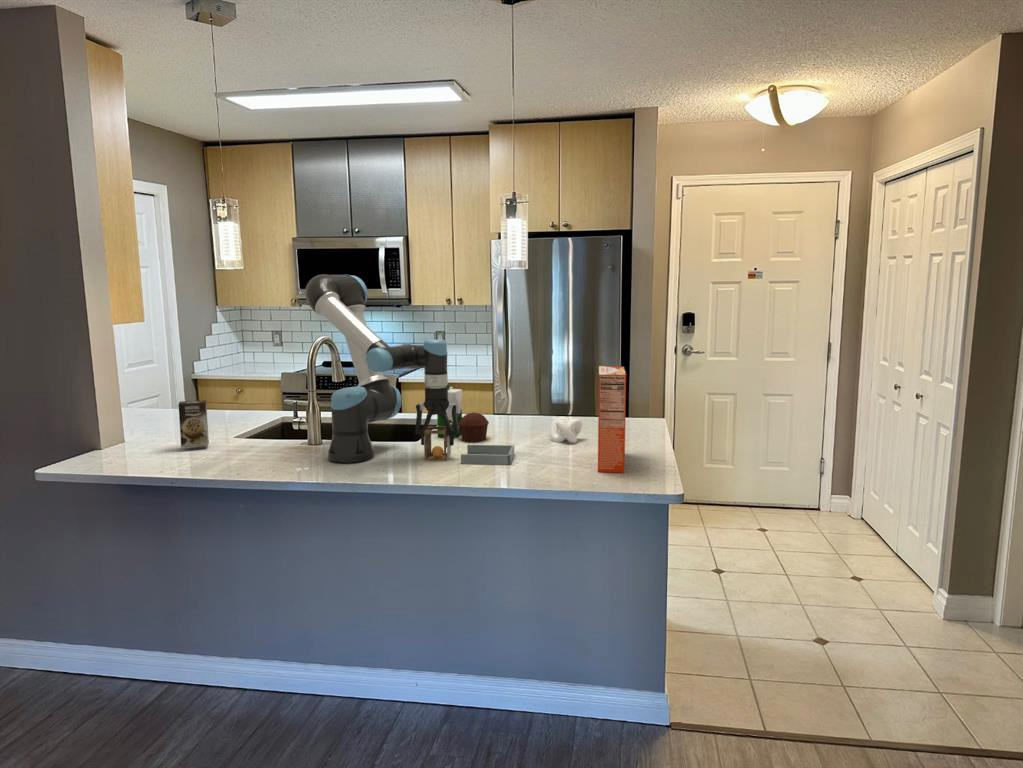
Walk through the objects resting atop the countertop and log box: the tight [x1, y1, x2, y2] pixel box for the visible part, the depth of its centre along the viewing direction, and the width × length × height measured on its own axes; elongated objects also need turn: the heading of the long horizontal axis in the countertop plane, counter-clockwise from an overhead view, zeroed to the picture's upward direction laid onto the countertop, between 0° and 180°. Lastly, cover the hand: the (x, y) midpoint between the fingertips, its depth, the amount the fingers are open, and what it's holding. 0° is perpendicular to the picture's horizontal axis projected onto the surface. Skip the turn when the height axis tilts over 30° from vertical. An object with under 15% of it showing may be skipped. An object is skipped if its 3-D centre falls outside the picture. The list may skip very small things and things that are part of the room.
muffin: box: [459, 412, 490, 443], centre depth 251 cm, size 12×11×10 cm
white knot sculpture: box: [549, 416, 583, 444], centre depth 247 cm, size 11×12×9 cm
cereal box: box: [597, 365, 627, 473], centre depth 215 cm, size 23×8×30 cm, turn 173°
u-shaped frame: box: [460, 444, 515, 466], centre depth 223 cm, size 16×14×3 cm
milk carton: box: [436, 383, 463, 440], centre depth 256 cm, size 9×9×20 cm
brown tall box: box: [178, 400, 210, 449], centre depth 244 cm, size 9×6×16 cm
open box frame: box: [424, 425, 449, 462], centre depth 224 cm, size 7×7×10 cm
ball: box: [431, 445, 444, 458], centre depth 224 cm, size 4×4×4 cm
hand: (437, 454), depth 225 cm, fingers closed on open box frame, 7 cm apart
